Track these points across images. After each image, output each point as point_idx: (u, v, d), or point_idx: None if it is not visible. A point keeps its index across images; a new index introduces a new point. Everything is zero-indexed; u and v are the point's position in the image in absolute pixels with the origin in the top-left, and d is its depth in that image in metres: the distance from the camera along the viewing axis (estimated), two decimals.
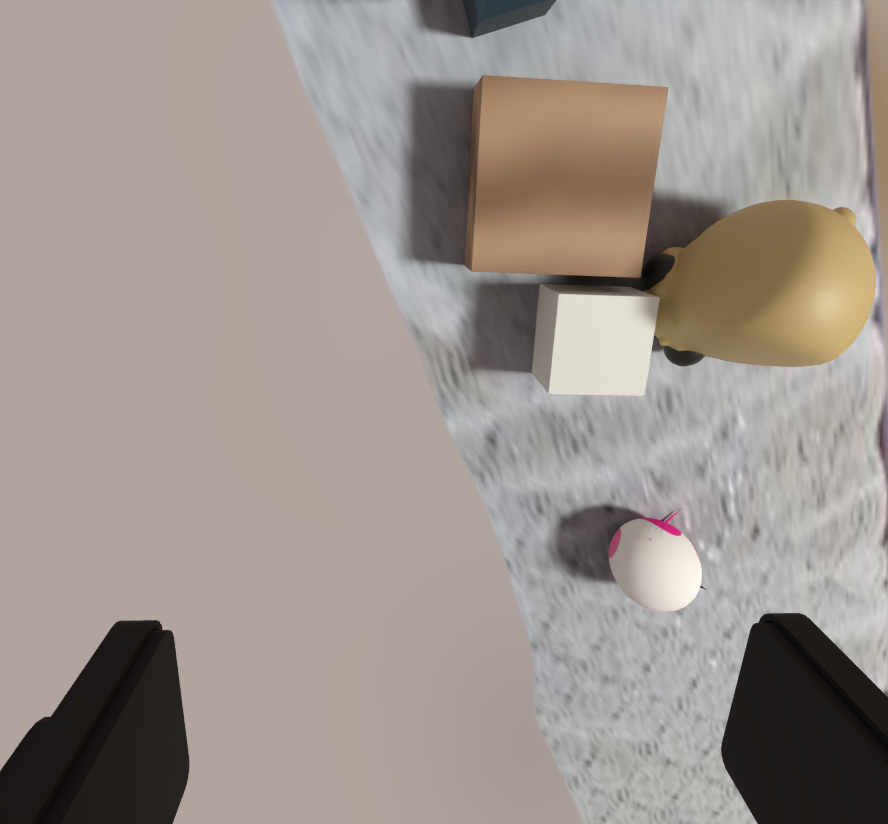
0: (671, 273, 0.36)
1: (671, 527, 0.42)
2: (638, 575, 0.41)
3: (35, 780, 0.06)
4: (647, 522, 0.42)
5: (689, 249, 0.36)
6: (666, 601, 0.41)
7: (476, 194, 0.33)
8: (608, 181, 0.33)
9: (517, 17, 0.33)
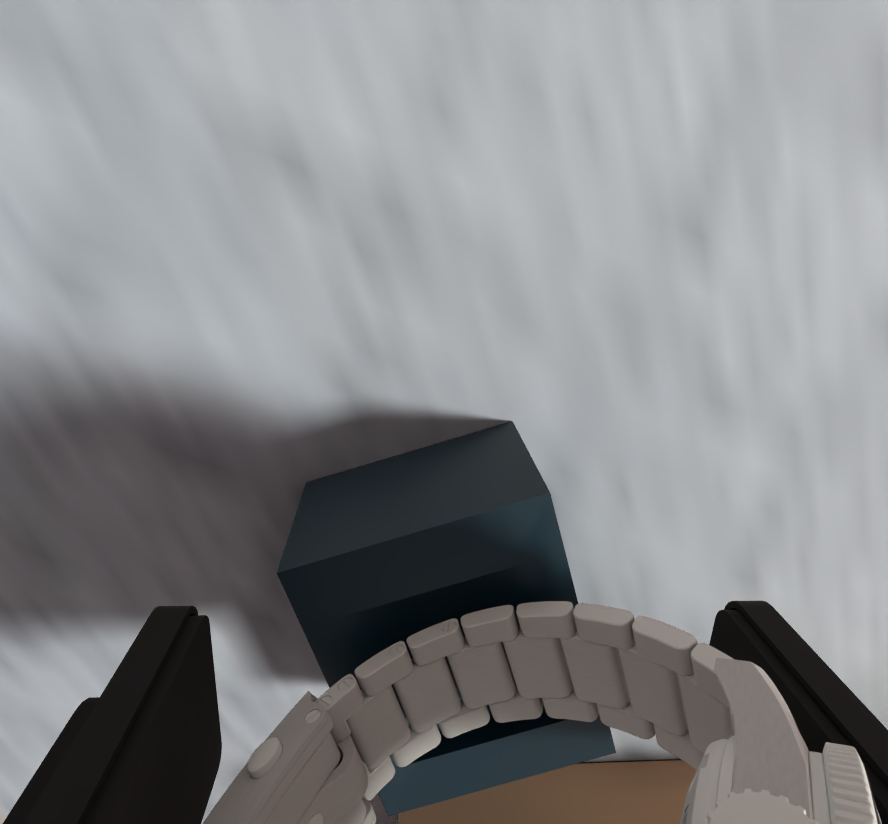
0: None
1: None
2: None
3: (93, 752, 0.06)
4: None
5: None
6: None
7: None
8: None
9: None
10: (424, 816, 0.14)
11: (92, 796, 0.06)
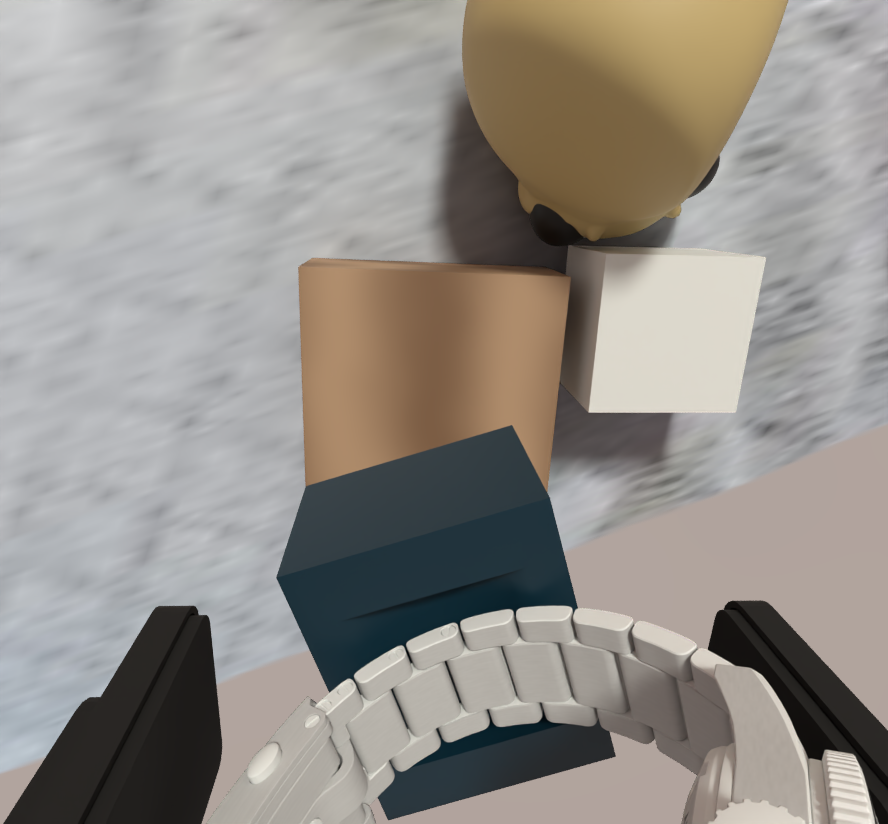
0: (566, 216, 0.22)
1: None
2: None
3: (93, 751, 0.06)
4: None
5: (530, 187, 0.22)
6: None
7: None
8: (430, 341, 0.23)
9: None
10: None
11: (92, 795, 0.06)
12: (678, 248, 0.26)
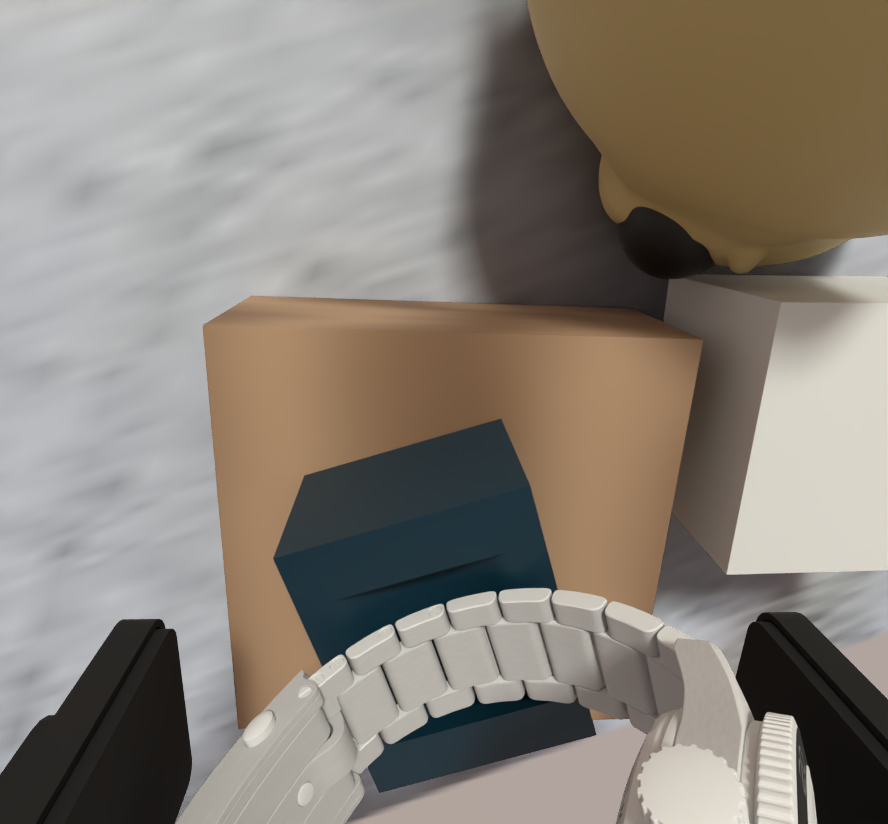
0: (696, 229, 0.12)
1: None
2: None
3: (40, 778, 0.06)
4: None
5: (632, 176, 0.12)
6: None
7: None
8: None
9: None
10: None
11: None
12: (850, 277, 0.16)
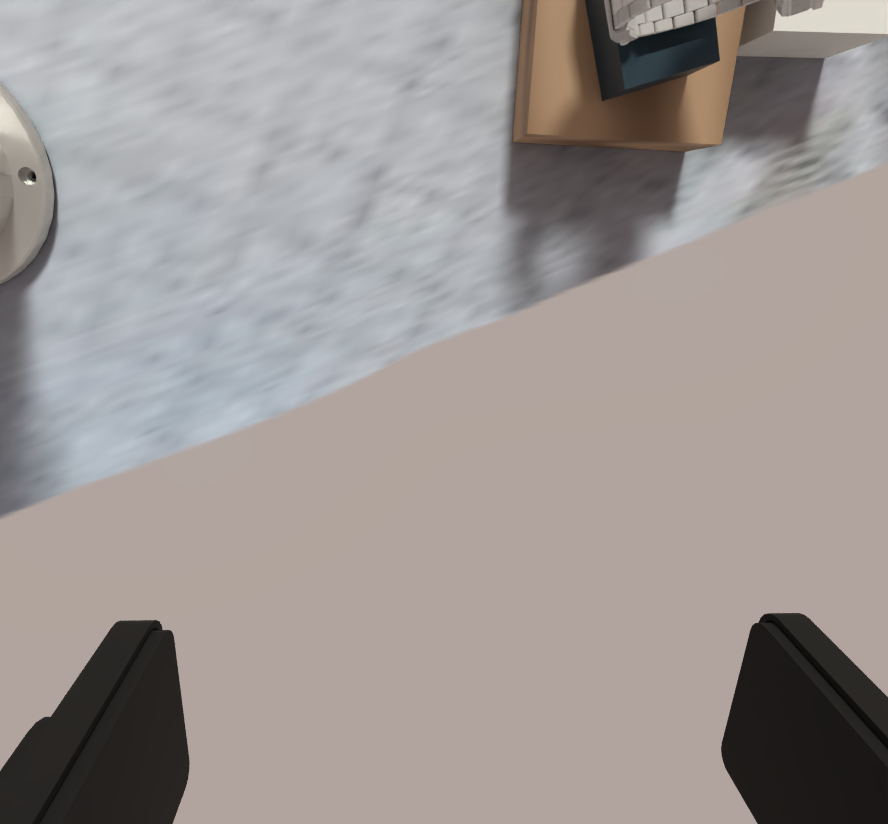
0: None
1: None
2: None
3: (35, 780, 0.06)
4: None
5: None
6: None
7: (640, 139, 0.30)
8: None
9: (662, 81, 0.28)
10: (517, 127, 0.32)
11: None
12: None
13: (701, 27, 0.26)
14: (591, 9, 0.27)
